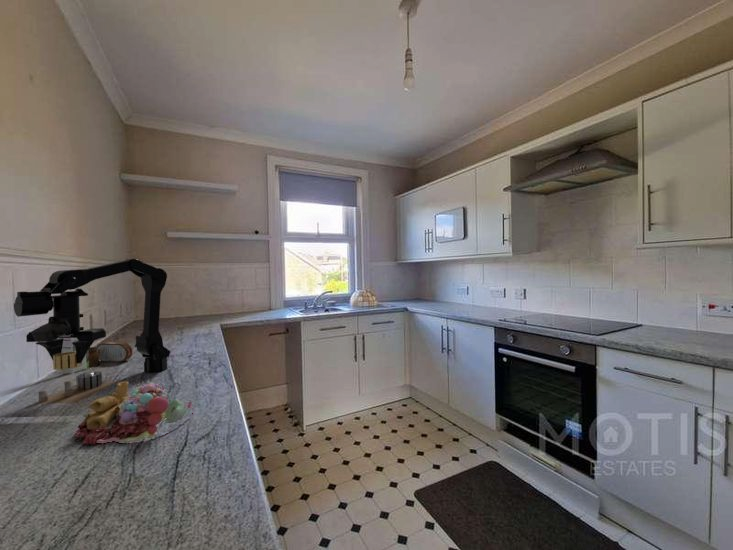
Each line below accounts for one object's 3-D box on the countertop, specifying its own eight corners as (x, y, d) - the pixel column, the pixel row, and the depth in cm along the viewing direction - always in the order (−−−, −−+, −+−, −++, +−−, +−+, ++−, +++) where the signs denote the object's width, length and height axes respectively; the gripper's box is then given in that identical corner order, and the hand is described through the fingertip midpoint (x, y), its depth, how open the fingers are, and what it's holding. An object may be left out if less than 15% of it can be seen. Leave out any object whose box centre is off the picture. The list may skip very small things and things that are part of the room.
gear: (107, 382, 105) (106, 369, 105) (91, 390, 99) (91, 376, 98) (87, 383, 104) (87, 370, 104) (71, 390, 98) (70, 376, 98)
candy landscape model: (48, 452, 68) (46, 411, 68) (116, 405, 91) (115, 374, 91) (172, 441, 72) (171, 402, 72) (207, 398, 95) (206, 369, 95)
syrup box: (72, 377, 114) (71, 337, 114) (60, 375, 115) (59, 337, 115) (89, 371, 120) (88, 334, 119) (77, 370, 121) (76, 333, 121)
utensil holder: (87, 368, 124) (86, 338, 124) (75, 367, 125) (74, 337, 125) (102, 363, 130) (101, 335, 129) (90, 362, 131) (89, 334, 131)
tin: (133, 360, 134) (132, 341, 134) (126, 363, 131) (126, 343, 130) (101, 360, 135) (100, 340, 135) (94, 362, 132) (93, 342, 132)
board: (118, 385, 106) (117, 368, 106) (76, 406, 90) (76, 386, 90) (81, 386, 105) (80, 369, 105) (33, 407, 89) (32, 387, 89)
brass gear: (87, 363, 97) (87, 350, 97) (69, 369, 91) (69, 356, 91) (66, 363, 97) (66, 350, 97) (47, 370, 91) (47, 356, 91)
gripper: (4, 316, 85) (6, 372, 86) (74, 315, 86) (76, 371, 86) (44, 310, 96) (46, 360, 97) (106, 310, 97) (107, 359, 98)
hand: (68, 363), depth 94 cm, fingers closed on brass gear, 6 cm apart
